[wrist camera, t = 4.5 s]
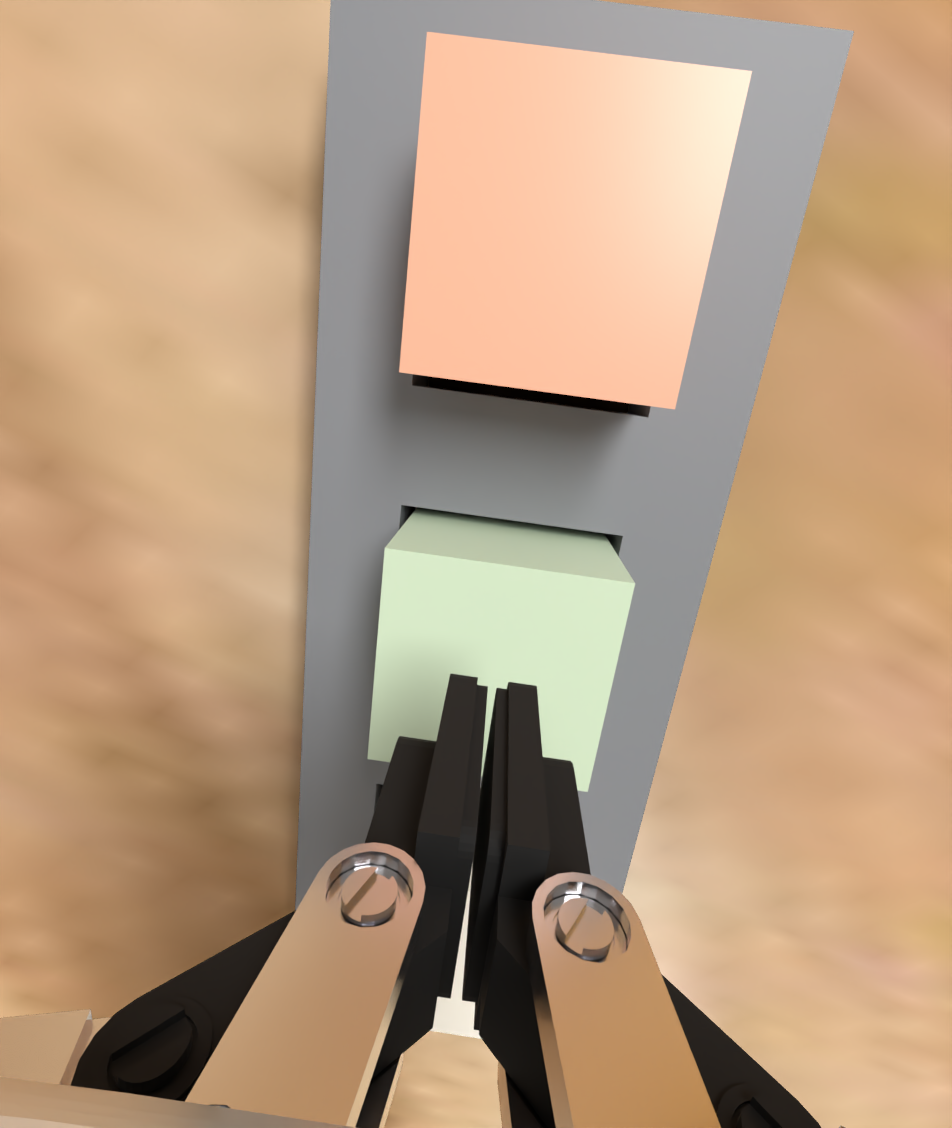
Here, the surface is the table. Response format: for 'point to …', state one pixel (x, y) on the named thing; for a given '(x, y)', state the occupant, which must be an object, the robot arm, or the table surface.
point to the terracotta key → (564, 216)
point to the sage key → (498, 627)
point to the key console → (528, 427)
